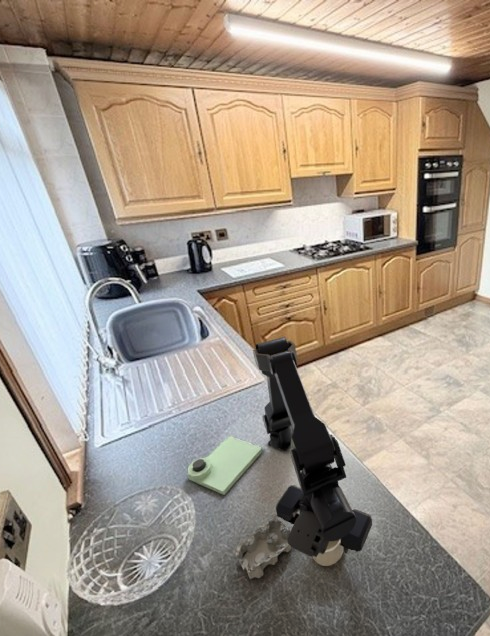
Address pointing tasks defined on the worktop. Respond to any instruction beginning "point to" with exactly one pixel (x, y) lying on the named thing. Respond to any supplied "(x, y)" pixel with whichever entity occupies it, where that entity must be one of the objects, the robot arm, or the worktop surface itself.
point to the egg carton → (263, 546)
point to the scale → (225, 464)
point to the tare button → (198, 465)
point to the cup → (330, 554)
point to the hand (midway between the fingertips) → (326, 541)
